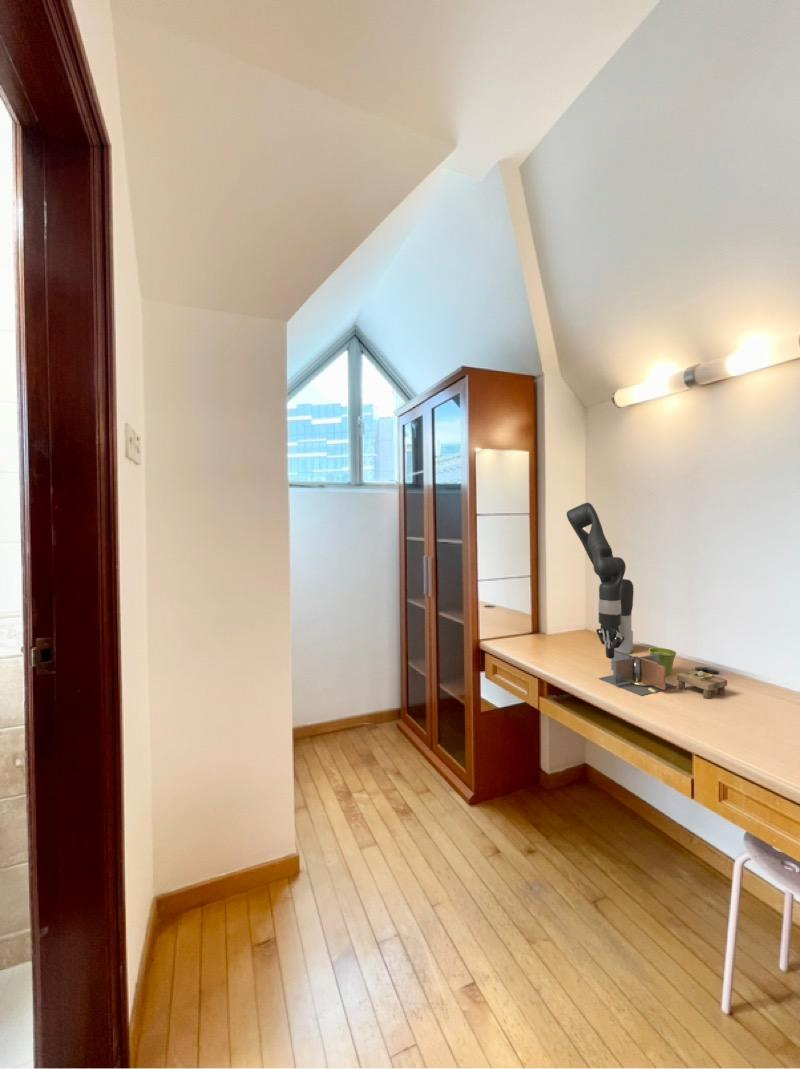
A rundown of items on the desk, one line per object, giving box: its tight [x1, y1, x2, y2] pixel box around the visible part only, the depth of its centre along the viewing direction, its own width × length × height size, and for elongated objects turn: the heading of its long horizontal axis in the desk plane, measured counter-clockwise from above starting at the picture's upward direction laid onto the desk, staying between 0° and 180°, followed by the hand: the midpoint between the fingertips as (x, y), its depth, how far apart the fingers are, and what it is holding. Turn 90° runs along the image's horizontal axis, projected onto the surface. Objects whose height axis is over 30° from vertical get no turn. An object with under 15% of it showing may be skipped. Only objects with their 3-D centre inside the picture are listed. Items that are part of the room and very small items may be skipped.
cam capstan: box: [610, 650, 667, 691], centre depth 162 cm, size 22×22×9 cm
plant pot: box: [648, 647, 678, 676], centre depth 171 cm, size 9×9×9 cm
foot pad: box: [598, 674, 678, 697], centre depth 161 cm, size 18×19×1 cm
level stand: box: [675, 670, 728, 700], centre depth 153 cm, size 10×11×7 cm
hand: (610, 657), depth 162 cm, fingers closed
